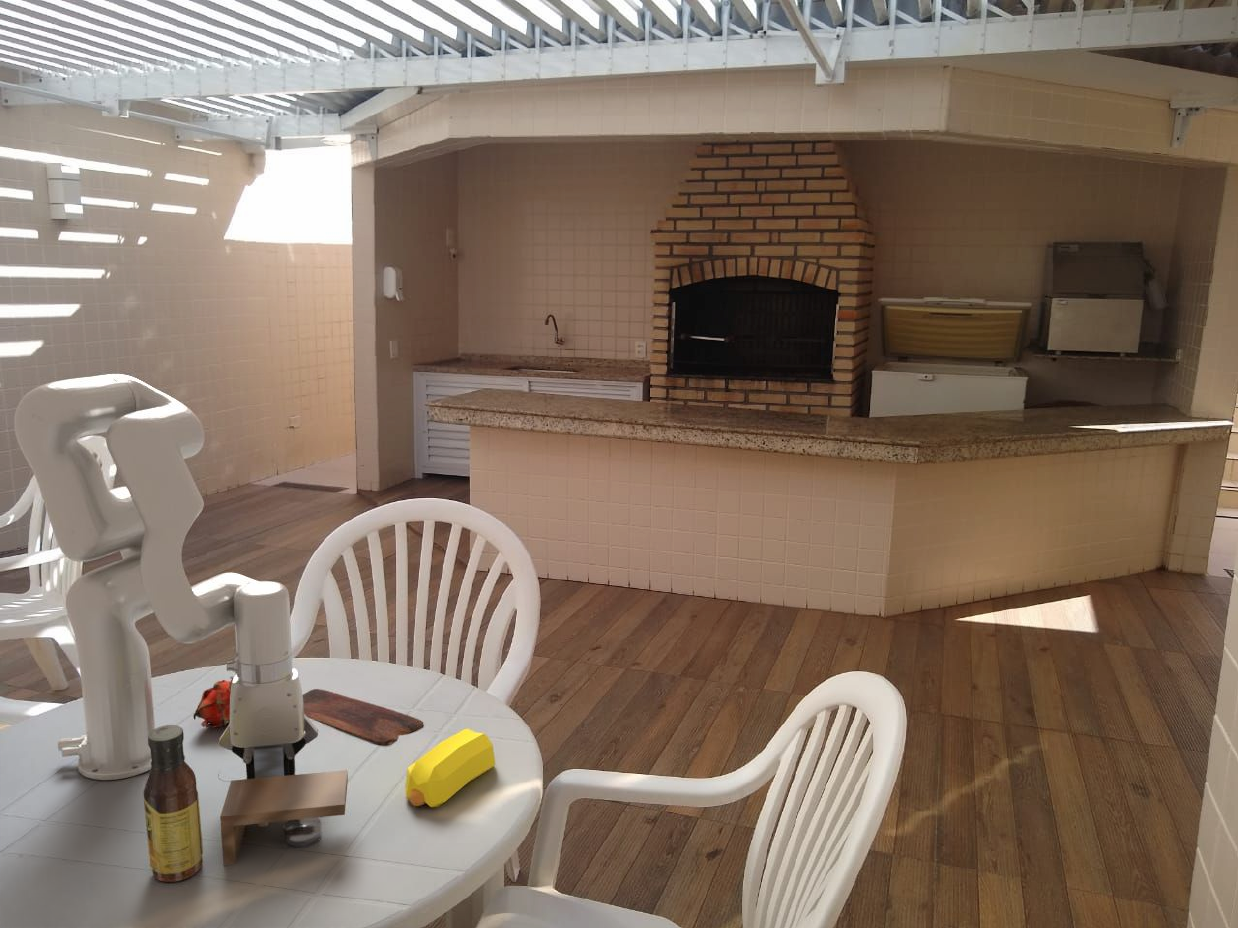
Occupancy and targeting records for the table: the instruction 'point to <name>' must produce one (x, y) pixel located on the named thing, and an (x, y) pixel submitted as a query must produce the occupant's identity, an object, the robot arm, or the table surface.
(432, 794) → the yellow faceted part
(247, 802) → the walnut shelf
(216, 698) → the dragon fruit
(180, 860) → the sauce bottle
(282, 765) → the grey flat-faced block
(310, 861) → the table surface
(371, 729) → the wooden tablet
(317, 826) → the steel token
